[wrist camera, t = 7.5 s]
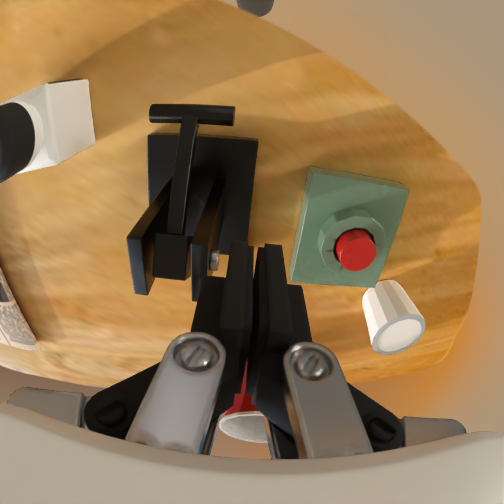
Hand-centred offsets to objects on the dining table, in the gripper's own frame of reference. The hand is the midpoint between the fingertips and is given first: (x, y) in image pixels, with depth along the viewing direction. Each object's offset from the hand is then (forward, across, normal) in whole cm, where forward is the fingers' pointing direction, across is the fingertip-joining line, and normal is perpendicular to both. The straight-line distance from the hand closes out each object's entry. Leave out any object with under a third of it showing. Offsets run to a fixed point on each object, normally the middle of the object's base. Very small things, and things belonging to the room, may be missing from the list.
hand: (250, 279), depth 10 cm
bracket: (+19, +5, +4) cm, 20 cm away
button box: (+19, -10, +6) cm, 23 cm away
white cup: (+20, -18, +15) cm, 31 cm away
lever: (+11, +5, +1) cm, 12 cm away
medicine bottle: (+19, +20, -3) cm, 28 cm away
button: (+15, -10, +6) cm, 20 cm away
